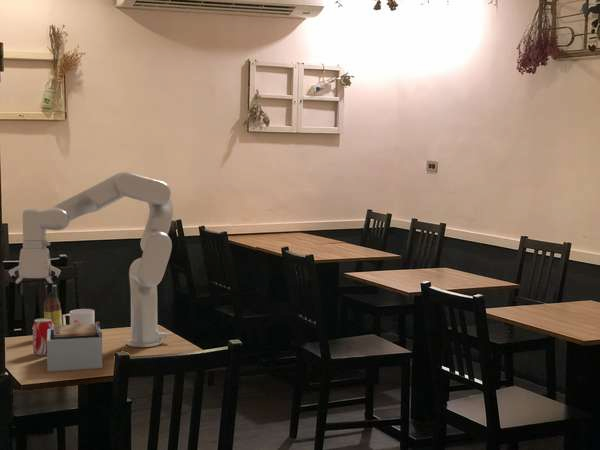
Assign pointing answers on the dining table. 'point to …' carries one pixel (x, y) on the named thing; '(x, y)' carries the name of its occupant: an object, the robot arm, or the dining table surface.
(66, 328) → the flap
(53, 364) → the bin
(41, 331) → the soda can
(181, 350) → the dining table surface
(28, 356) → the dining table surface
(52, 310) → the sauce bottle
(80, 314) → the mug
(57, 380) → the dining table surface
